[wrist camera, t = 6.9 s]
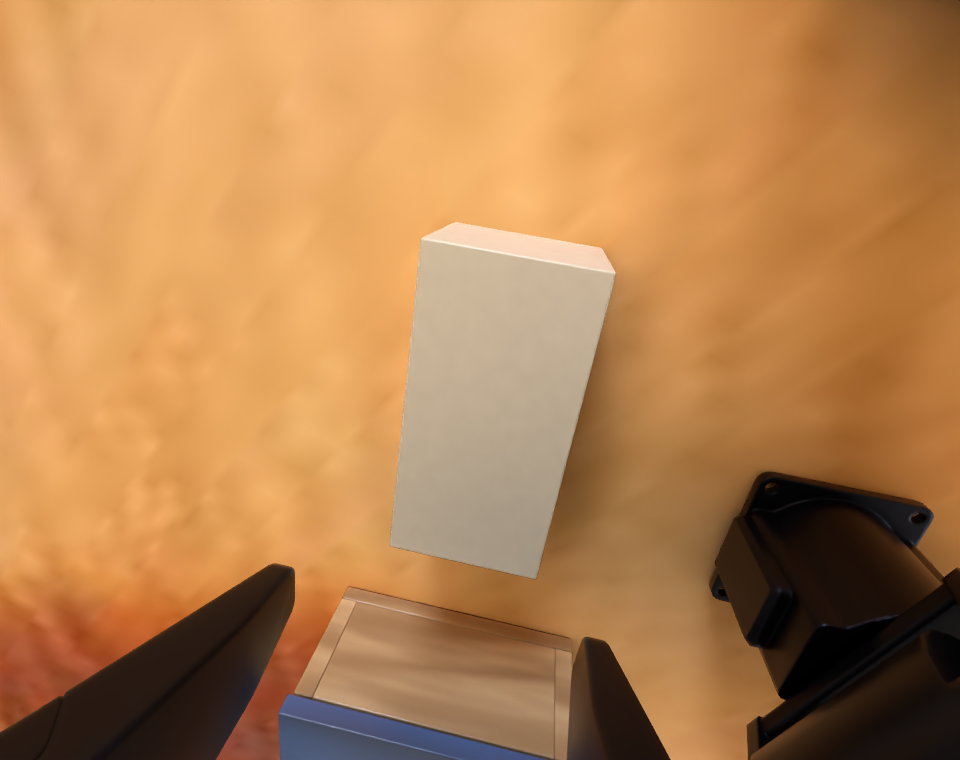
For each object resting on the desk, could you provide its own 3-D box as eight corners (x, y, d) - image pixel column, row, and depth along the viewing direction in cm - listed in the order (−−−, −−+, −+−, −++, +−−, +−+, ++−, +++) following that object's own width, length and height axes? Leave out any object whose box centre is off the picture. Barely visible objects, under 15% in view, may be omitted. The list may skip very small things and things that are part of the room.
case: (454, 221, 18) (420, 237, 14) (602, 247, 18) (616, 272, 13) (422, 473, 23) (388, 546, 18) (540, 499, 22) (536, 580, 18)
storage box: (348, 585, 26) (293, 692, 21) (571, 638, 25) (574, 764, 20) (337, 747, 31) (292, 865, 26) (521, 795, 30) (513, 927, 25)
